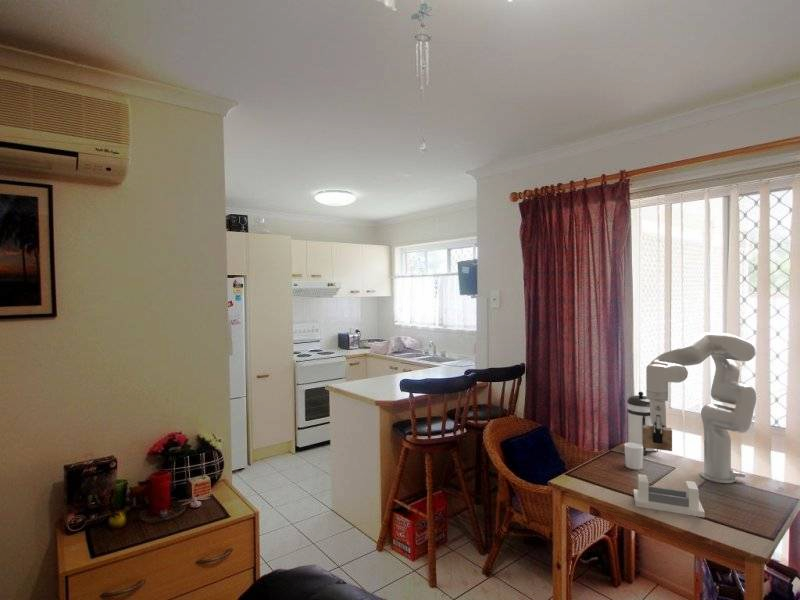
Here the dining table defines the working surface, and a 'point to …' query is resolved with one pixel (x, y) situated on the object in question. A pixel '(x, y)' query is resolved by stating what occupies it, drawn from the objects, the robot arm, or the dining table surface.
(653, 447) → the brown wooden block
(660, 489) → the track frame
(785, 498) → the dining table surface
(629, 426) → the coffee press
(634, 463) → the white cup
